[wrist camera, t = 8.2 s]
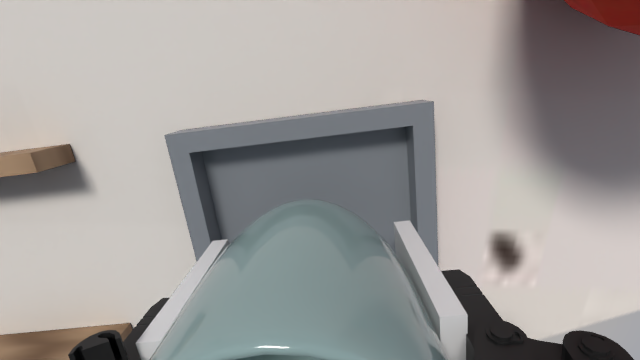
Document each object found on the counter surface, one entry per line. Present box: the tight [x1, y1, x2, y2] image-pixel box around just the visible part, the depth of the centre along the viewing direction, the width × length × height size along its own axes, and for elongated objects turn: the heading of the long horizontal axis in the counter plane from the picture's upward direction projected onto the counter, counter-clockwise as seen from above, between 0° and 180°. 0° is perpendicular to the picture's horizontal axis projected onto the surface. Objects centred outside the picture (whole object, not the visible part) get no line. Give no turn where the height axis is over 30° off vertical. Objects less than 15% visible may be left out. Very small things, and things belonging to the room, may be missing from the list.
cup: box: [149, 199, 448, 360], centre depth 11 cm, size 8×8×10 cm
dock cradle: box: [164, 100, 438, 266], centre depth 18 cm, size 13×13×2 cm
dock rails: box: [0, 144, 132, 360], centre depth 19 cm, size 10×13×2 cm
